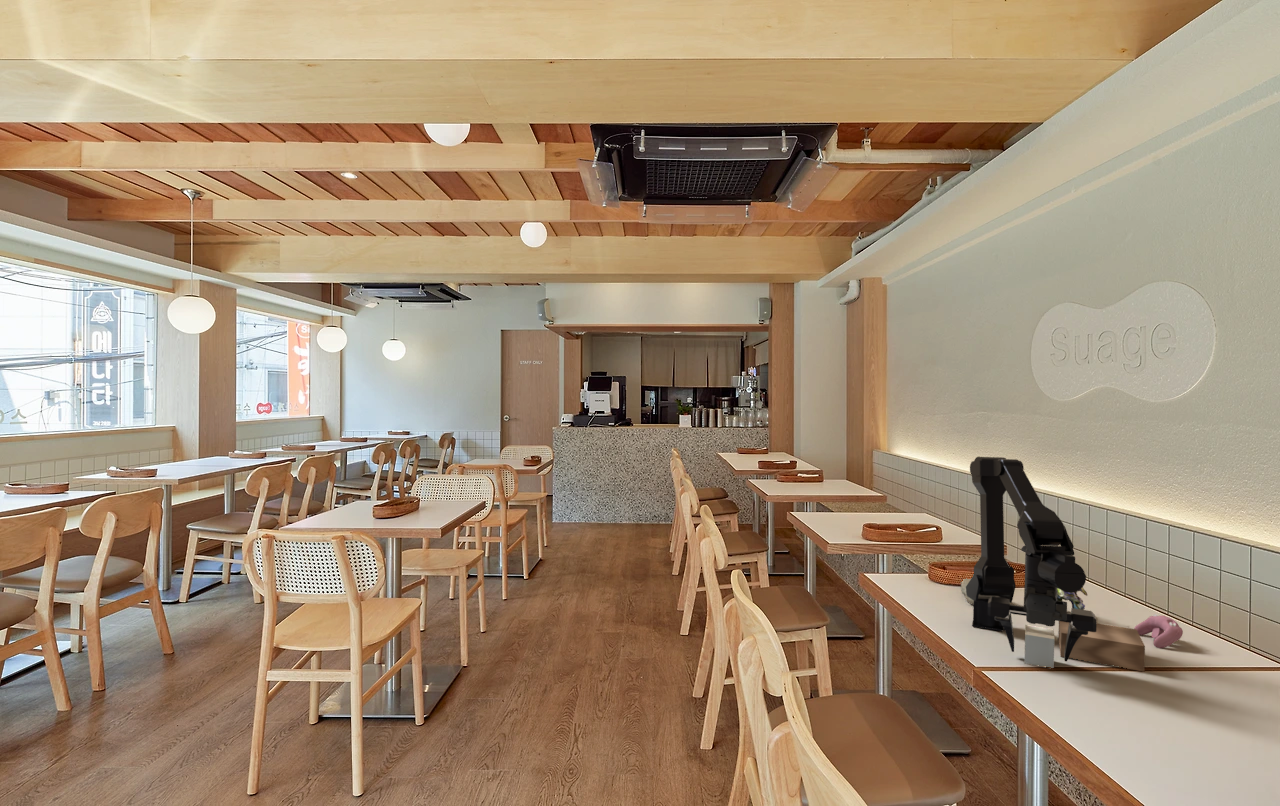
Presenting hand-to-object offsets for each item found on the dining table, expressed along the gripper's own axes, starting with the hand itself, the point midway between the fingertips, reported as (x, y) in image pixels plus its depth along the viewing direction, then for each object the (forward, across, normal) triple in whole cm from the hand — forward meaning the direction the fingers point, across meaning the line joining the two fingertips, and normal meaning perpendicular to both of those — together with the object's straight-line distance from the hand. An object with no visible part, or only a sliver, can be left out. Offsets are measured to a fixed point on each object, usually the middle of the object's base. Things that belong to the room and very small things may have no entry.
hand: (1038, 655), depth 137 cm
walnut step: (+1, +11, +12) cm, 16 cm away
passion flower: (+2, +5, +40) cm, 40 cm away
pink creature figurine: (+2, +23, +30) cm, 38 cm away
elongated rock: (+2, -14, +51) cm, 53 cm away
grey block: (+1, 0, 0) cm, 1 cm away
